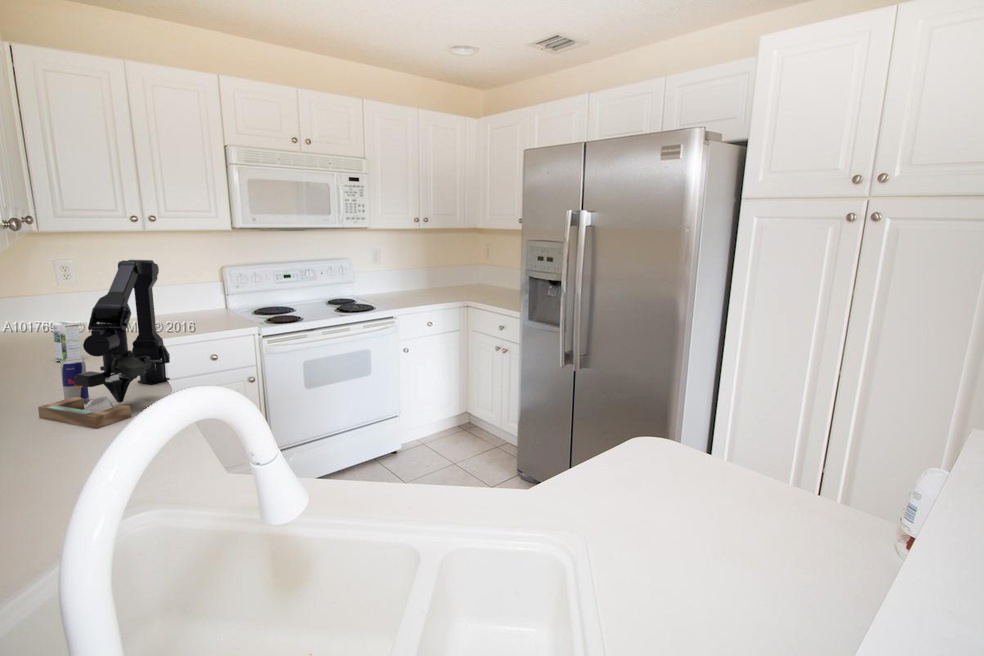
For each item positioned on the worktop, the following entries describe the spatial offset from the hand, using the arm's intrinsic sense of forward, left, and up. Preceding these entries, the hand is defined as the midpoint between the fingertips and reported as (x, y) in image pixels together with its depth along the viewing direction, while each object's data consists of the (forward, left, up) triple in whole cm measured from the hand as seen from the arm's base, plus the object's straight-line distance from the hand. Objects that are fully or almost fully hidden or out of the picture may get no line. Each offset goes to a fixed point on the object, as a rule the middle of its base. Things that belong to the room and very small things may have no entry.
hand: (120, 402), depth 140 cm
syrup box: (-29, -63, -2) cm, 69 cm away
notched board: (+9, 0, -1) cm, 9 cm away
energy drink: (+2, -14, -2) cm, 14 cm away
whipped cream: (+6, +1, -2) cm, 6 cm away
